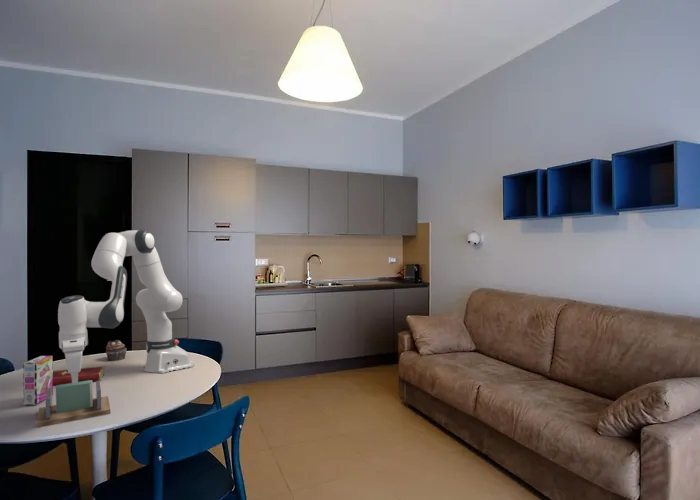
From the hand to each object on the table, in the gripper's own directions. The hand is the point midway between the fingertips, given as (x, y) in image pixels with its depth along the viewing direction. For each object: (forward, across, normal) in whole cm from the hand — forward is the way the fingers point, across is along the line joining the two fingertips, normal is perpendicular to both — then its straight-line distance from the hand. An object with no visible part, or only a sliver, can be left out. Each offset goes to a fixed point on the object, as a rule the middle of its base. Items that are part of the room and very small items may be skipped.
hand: (75, 378), depth 160 cm
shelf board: (+12, 0, 0) cm, 12 cm away
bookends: (+11, 0, 0) cm, 11 cm away
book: (+11, 0, 0) cm, 11 cm away
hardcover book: (+13, -44, 0) cm, 46 cm away
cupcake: (+13, -73, +18) cm, 76 cm away
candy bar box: (+13, -22, -12) cm, 28 cm away
